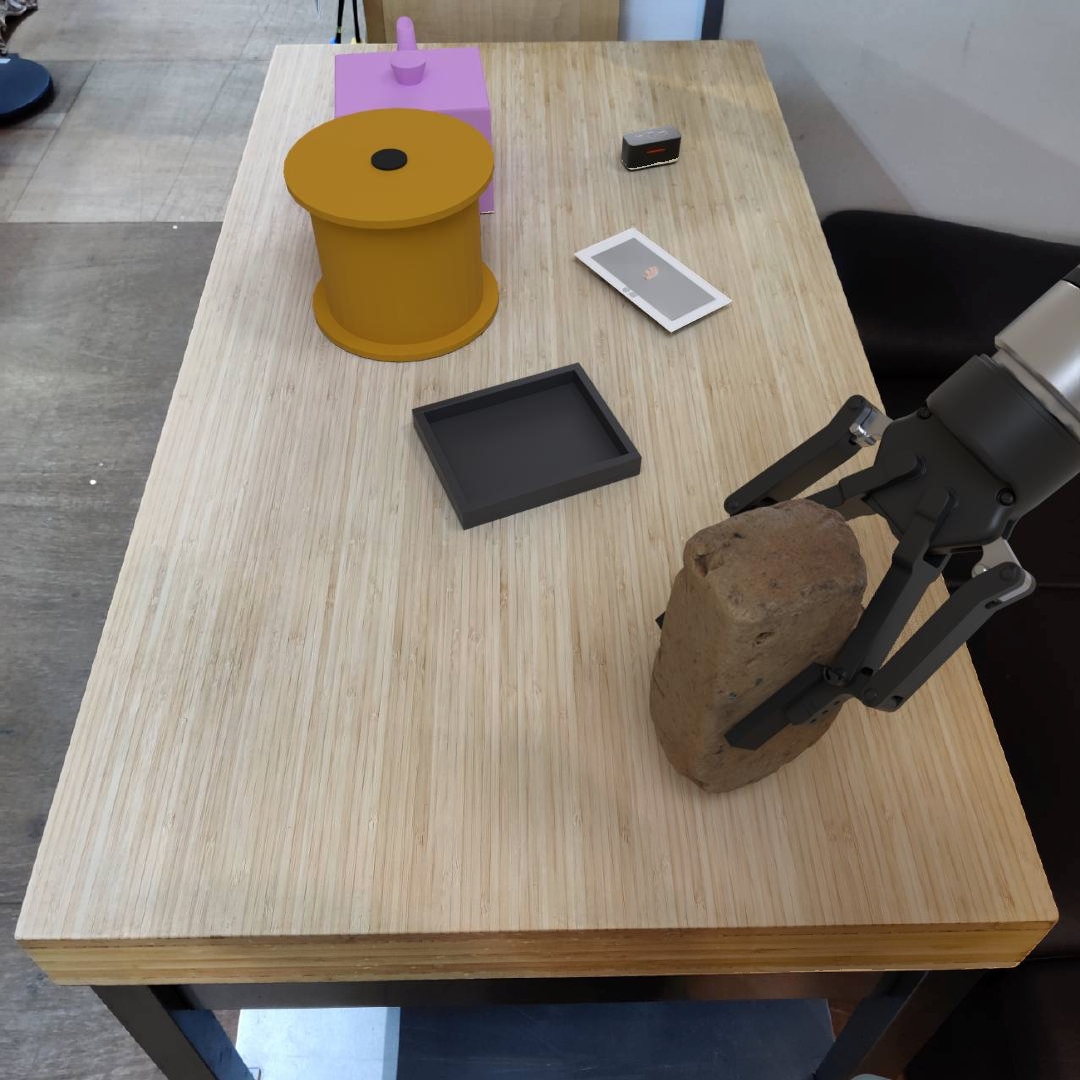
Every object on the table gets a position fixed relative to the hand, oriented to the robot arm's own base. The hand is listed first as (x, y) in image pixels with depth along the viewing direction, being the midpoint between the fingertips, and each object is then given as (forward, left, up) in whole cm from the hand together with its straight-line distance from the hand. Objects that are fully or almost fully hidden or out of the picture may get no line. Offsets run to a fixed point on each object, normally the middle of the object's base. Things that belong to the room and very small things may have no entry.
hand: (704, 683), depth 56 cm
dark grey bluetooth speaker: (+68, -33, -11) cm, 76 cm away
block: (0, -3, -9) cm, 9 cm away
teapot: (+74, -7, -11) cm, 75 cm away
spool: (+54, +1, -11) cm, 55 cm away
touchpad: (+47, -22, -11) cm, 53 cm away
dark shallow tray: (+31, -2, -11) cm, 33 cm away
